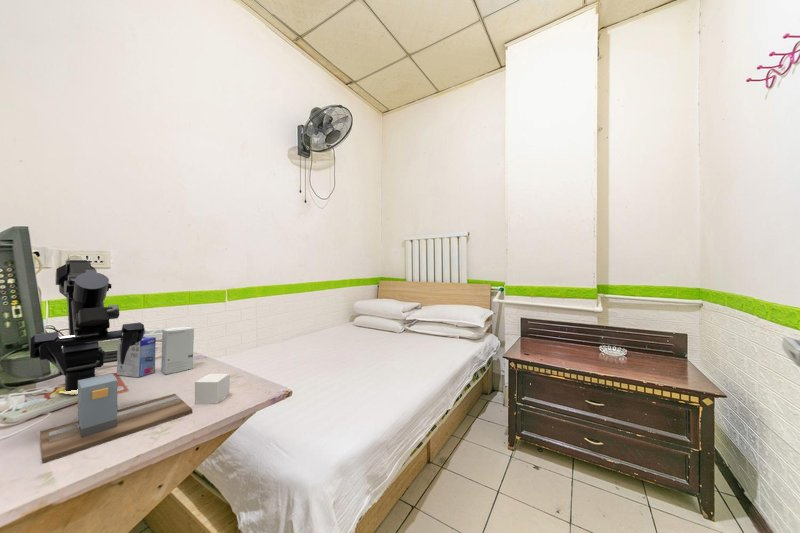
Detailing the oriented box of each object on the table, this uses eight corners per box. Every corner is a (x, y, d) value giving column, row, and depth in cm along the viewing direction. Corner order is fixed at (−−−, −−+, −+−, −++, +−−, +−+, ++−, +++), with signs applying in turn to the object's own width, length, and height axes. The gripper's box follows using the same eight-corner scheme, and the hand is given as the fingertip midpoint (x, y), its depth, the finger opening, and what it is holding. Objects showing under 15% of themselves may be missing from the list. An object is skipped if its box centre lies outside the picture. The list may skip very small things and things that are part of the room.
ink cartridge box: (156, 372, 101) (156, 330, 101) (139, 378, 96) (139, 334, 96) (134, 369, 103) (134, 328, 103) (116, 375, 98) (116, 332, 98)
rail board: (40, 435, 63) (40, 424, 63) (174, 397, 82) (174, 388, 82) (42, 463, 55) (42, 450, 55) (192, 412, 74) (192, 403, 74)
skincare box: (164, 375, 98) (165, 331, 98) (160, 371, 102) (160, 328, 102) (194, 368, 105) (194, 327, 104) (189, 364, 108) (189, 325, 108)
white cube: (217, 404, 79) (217, 382, 79) (194, 404, 79) (194, 382, 79) (229, 394, 85) (229, 373, 85) (208, 394, 85) (208, 373, 85)
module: (77, 427, 65) (77, 380, 65) (111, 417, 70) (112, 373, 70) (81, 439, 61) (81, 389, 61) (117, 427, 65) (117, 380, 65)
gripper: (30, 298, 63) (31, 359, 56) (143, 292, 78) (154, 340, 71) (29, 328, 68) (30, 388, 61) (135, 317, 83) (145, 365, 76)
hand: (95, 368), depth 67 cm, fingers open, 9 cm apart
